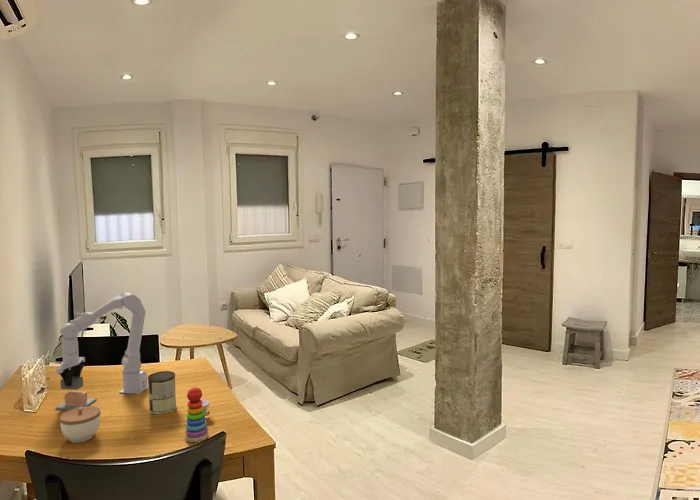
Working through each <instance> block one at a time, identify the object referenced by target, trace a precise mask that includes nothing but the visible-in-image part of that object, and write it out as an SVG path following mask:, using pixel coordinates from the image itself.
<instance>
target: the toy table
mask: <svg viewBox="0 0 700 500" xmlns="http://www.w3.org/2000/svg"><path fill="white" fill-rule="evenodd" d="M187 400H188V399H187ZM200 400H202V402H203V404H202V406H203V407H204V410H203V411H204V416H209V414H208V412H207V413H206V411H207V410H209V409H208V407H210V404H211V403H210V401H209V400H207V399H205V398H201V399H200ZM188 402H189V400H188V401H187V403H188Z"/></svg>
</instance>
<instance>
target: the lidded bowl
mask: <svg viewBox="0 0 700 500" xmlns="http://www.w3.org/2000/svg"><path fill="white" fill-rule="evenodd" d="M59 423H60V424H59V425H60V429H61V433H62V436H63V437H65V439H67V440H68V441H70V443H73V444H78V443H84V442H86V441H89V440H91V439H92V438H93V437H94V435H95V434H96V432H97V431H98V429H99V427H100V423H101V409H100V407H98V406H95V405H92V406H91V405H89V406H83V407H78V408H74V409H71V410H65V411H64V412H63V413H62V414H60V416H59Z"/></svg>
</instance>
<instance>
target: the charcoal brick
mask: <svg viewBox="0 0 700 500" xmlns="http://www.w3.org/2000/svg"><path fill="white" fill-rule="evenodd" d="M83 377H84V376H80V377H76V376H72V385H71V386H65V383H64V380H63V378H61V379H60V389H61V390H71V391H77V390H79V389H81V388H82V387H84V378H83Z"/></svg>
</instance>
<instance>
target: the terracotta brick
mask: <svg viewBox="0 0 700 500" xmlns="http://www.w3.org/2000/svg"><path fill="white" fill-rule="evenodd" d="M87 398H88V391H79V390H78V391H77V390H71V391H69V392H67V393H66V394H64V402H65V404H69V405H82V404H83V403H85V402H87Z"/></svg>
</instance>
